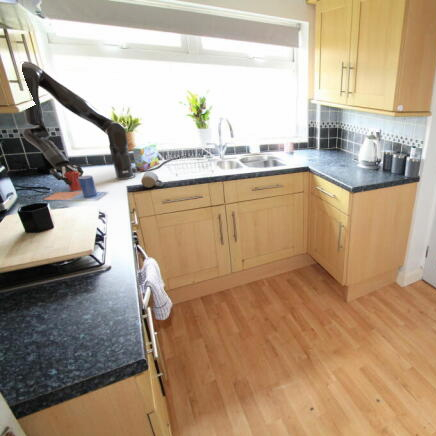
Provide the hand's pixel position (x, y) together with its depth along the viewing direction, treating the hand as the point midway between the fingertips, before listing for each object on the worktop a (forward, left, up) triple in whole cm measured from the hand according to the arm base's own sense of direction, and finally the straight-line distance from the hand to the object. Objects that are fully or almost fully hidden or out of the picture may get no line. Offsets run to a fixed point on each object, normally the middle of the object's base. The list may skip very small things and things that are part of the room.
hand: (76, 182), depth 171 cm
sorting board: (+10, +4, -4) cm, 11 cm away
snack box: (-50, +19, -5) cm, 53 cm away
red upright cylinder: (-1, -1, -4) cm, 5 cm away
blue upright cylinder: (+10, +11, -4) cm, 15 cm away
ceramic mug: (-7, +36, -5) cm, 36 cm away
